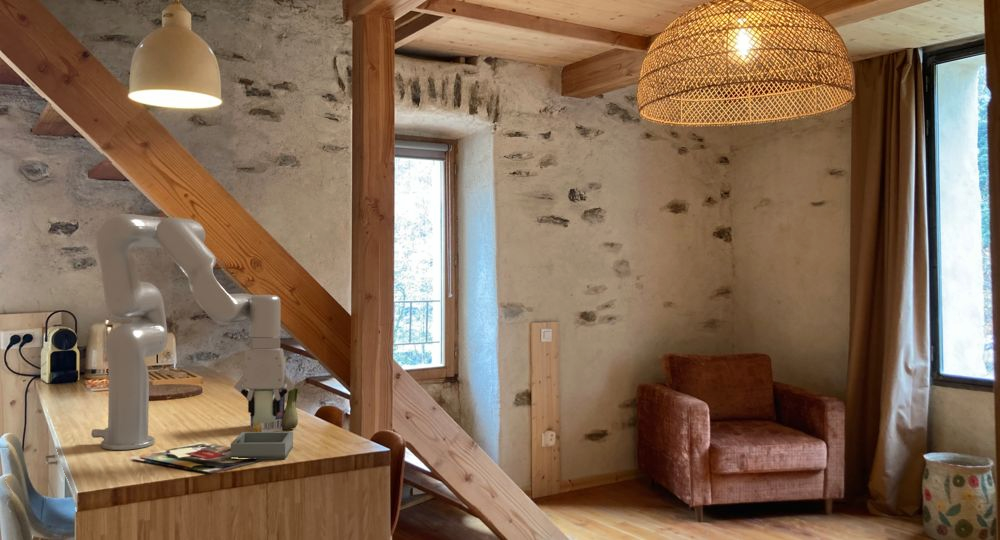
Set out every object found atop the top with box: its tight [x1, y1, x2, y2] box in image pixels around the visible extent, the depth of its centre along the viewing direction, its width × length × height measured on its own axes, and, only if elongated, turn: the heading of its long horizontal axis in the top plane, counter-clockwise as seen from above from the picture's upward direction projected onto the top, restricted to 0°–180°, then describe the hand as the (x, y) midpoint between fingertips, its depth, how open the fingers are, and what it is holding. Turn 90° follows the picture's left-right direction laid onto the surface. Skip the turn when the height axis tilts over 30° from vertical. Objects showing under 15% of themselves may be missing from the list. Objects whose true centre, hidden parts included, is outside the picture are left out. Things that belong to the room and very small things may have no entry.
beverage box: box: [250, 353, 286, 432], centre depth 227 cm, size 7×11×22 cm, turn 31°
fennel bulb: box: [281, 387, 299, 430], centre depth 226 cm, size 6×5×12 cm
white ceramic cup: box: [254, 389, 275, 423], centre depth 198 cm, size 5×5×8 cm
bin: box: [230, 431, 294, 461], centre depth 198 cm, size 13×13×4 cm
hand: (264, 414), depth 198 cm, fingers closed on white ceramic cup, 5 cm apart
